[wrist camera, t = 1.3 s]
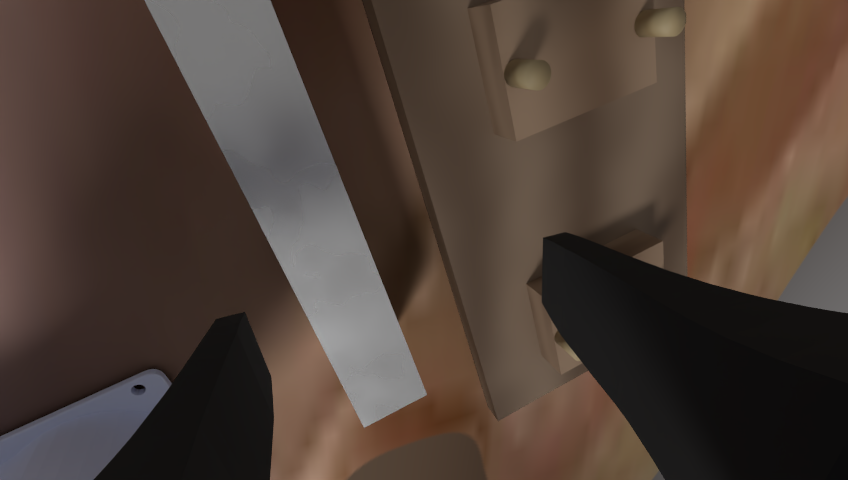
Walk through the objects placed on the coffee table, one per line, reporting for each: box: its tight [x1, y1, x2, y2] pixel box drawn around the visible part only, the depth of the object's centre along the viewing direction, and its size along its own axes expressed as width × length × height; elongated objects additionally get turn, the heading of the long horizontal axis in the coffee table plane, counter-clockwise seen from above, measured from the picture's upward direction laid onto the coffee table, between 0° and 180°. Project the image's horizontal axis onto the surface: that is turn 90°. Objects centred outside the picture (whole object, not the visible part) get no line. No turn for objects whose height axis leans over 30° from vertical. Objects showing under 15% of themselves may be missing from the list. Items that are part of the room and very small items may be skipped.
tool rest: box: [362, 0, 687, 421], centre depth 21 cm, size 14×24×4 cm, turn 17°
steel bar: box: [144, 0, 427, 428], centre depth 17 cm, size 16×3×5 cm, turn 17°
